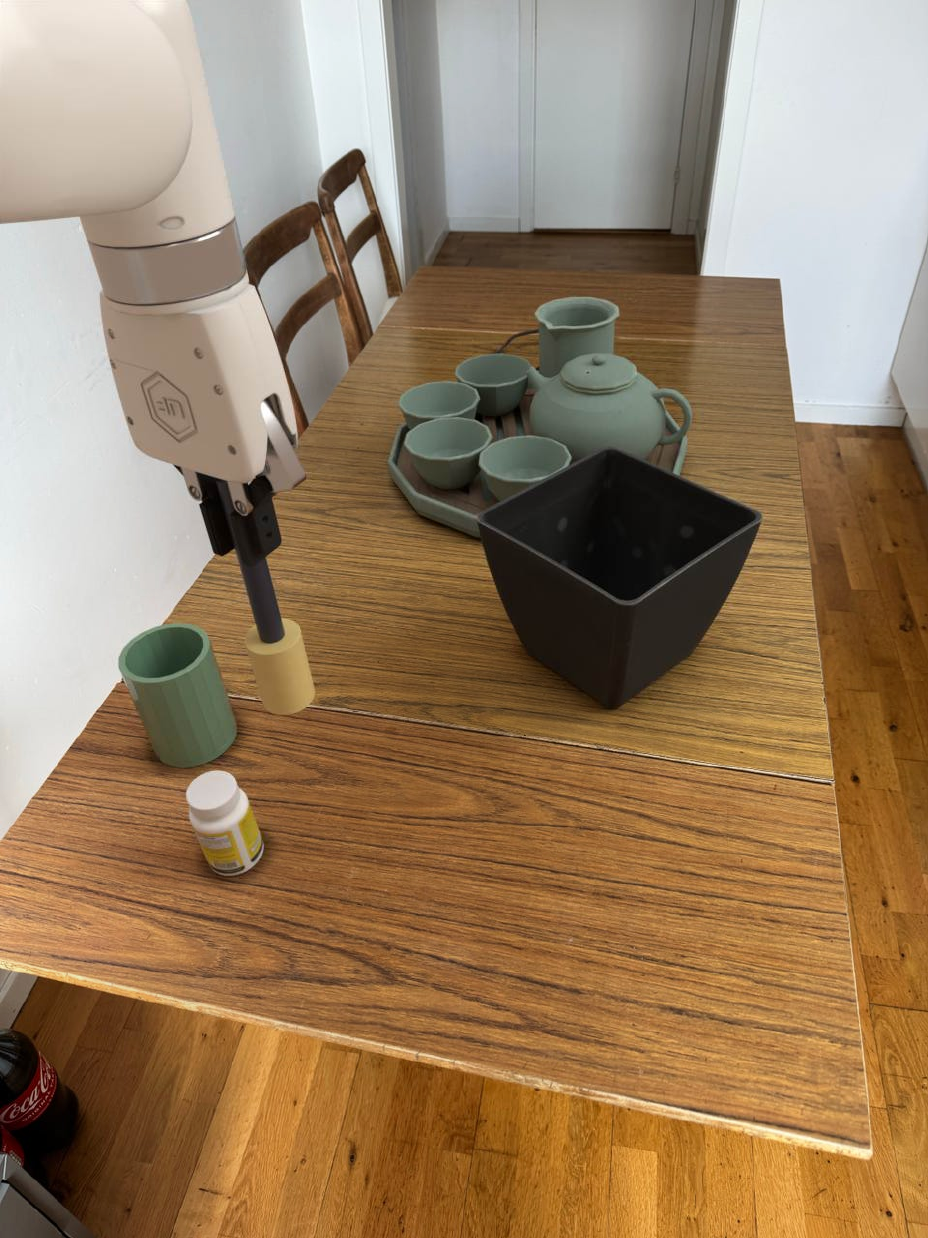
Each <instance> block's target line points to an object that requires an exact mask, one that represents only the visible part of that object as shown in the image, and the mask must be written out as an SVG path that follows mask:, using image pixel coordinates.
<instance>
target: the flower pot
mask: <svg viewBox="0 0 928 1238" xmlns="http://www.w3.org/2000/svg"><path fill="white" fill-rule="evenodd" d="M476 519H477V523H478V528H479V532H480V536H481V537H480V540H481V545H482V548H483V551H484V555H485V558H486V562H487V566H488V569H489V571H490V575H491V579H492V580H493V583H494V586H495V589H496V591H497V594H498V597H499V599H500V601H501V604H502V607H503V609H504V611H505V613H506V615H507V618H508V619H509V622H510V624H511V626H512V627H513V629H514V632H515V634H516V637H517V638H518V639H519V641H520V644H521V646H522V647H523V649H524V651H525V652H526V653H527V654H529V655H530V656H532V657H533V658H534V659H536V660H537V661H539V662H540V663H542V664H543V665H544V666H545V667H547V668H549V669H550V670H552V671H553V672H554V673H556V674H557V675H559V676H560V677H562V678H564V679H565V680H566V681H568V682H569V683H571V684H572V685H574V686H575V687H577V688H578V689H580V690H581V691H582V692H584V693H585V694H587V695H588V696H589V697H591V698H592V699H594V700H596V701H597V702H598V703H600V704H601V705H603V706H605V707H606V708H609V709H617V708H620V707H622V706H623V705H624V704H625V703H627V702H628V701H630V700H631V699H632V698H634V697H635V696H637V695H638V694H640V693H641V692H642V691H644V690H645V689H646V688H648V687H649V686H651V685H652V684H653V683H654V682H656V681H657V680H658V679H660V678H661V677H662V676H664V675H665V674H666V673H668V672H669V671H670V670H672V669H673V668H674V667H676V666H677V665H679V664H680V663H682V662H683V661H684V660H685V659H687V658H688V657H689V656H690V655H692V654H693V653H694V651H695V650H696V648H697V647H698V646H699V644H700V643H701V641H702V640H703V638H704V637H705V636H706V634H707V632H708V631H709V629H710V628H711V627H712V625H713V623H714V621H715V620H716V618H717V616H718V614H720V613H721V610H722V609H723V607H724V605H725V603H726V601H727V599H728V598H729V595H730V594H731V592H732V590H733V588H734V587H735V585H736V582H737V580H738V578H739V576H740V574H741V572H742V570H743V568H744V565H745V563H746V561H747V559H748V556H749V554H750V552H751V549H752V547H753V545H754V543H755V540H756V538H757V535H758V532H759V530H760V526H761V523H762V521H763V514H762V513H761V512H760V511H758V510H757V509H755V508H752V507H750V506H748V505H746V504H744V503H741V502H739V501H737V500H735V499H733V498H730V497H728V496H727V495H723V494H722V493H719V492H716V491H715V490H713V489H711V488H708V487H706V486H703V485H701V484H699V483H698V482H694V481H692V480H690V479H688V478H686V477H683V476H682V475H680V476H679V475H677V474H675V473H672V472H670V471H668V470H666V469H663V468H661V467H659V466H657V465H655V464H652V463H650V462H648V461H646V460H643V459H641V458H639V457H637V456H634V455H632V454H630V453H628V452H626V451H623V450H621V449H619V448H616V447H611V446H609V447H604V448H601V449H599V450H597V451H595V452H593V453H591V454H589V455H588V456H586V457H584V458H582V459H580V460H578V461H576V462H575V463H573V464H571V465H569V466H567V467H565V468H563V469H561V470H560V471H558V472H556V473H554V474H552V475H550V476H548V477H546V478H545V479H543V480H541V481H539V482H537V483H535V484H533V485H531V486H529V487H527V488H525V489H524V490H522V491H520V492H518V493H516V494H514V495H512V496H510V497H508V498H507V499H505V500H503V501H501V502H499V503H497V504H495V505H493V506H491V507H490V508H488V509H486V510H484V511H482V512H481V513H479V514H478V515H477V518H476Z"/></svg>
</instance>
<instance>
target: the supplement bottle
mask: <svg viewBox="0 0 928 1238" xmlns="http://www.w3.org/2000/svg"><path fill="white" fill-rule="evenodd" d="M185 799H186V802H187V803H186V804H187V805H188V809H189V811H188V819H189V822H190V825H191V828H192V830H193V832H194V834H195V837H196V839H197V842H198V843H199V846H200V848H201V850H202V853H203V855H204V858H205V859H206V862H207V864H208V866H209V868H210V869H211V870H212V871H213V872H214V873H216V874H218V875H221V876H224V877H235V876H238V875H242V874H244V873H246V872H247V871H249V870H251V869H252V868H253V867H254V866H255V865H256V864H257V863H258V862H259V861H260V860H261V858H262V856H263V853H264V840H263V837H262V834H261V832H260V828H259V826H258V823H257V820H256V818H255V814H254V812H253V809H252V806H251V804H250V800H249V798H248V795H247V794H246V793H245V792H244V790H242V788H240V787H239V786H238V782H237V780H236V778H235V777H234V775H232V774H231V773H230V772H228V771H225V770H219V769H218V770H210V771H206V772H204V773H202V774H200V775H198V776H197V777H195V778H194V779H193V780H192V781H191V782H190V784H189V785H188V787H187V789H186V791H185Z"/></svg>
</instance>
